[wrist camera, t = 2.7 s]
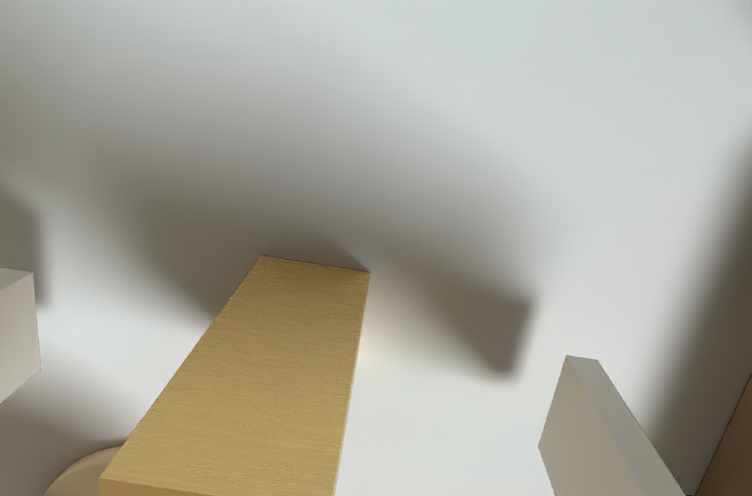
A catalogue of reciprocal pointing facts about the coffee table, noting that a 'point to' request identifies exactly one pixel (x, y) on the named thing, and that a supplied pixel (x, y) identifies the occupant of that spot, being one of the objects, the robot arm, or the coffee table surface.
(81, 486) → the wooden spool
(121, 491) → the block
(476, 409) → the coffee table surface
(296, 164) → the coffee table surface
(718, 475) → the caddy
